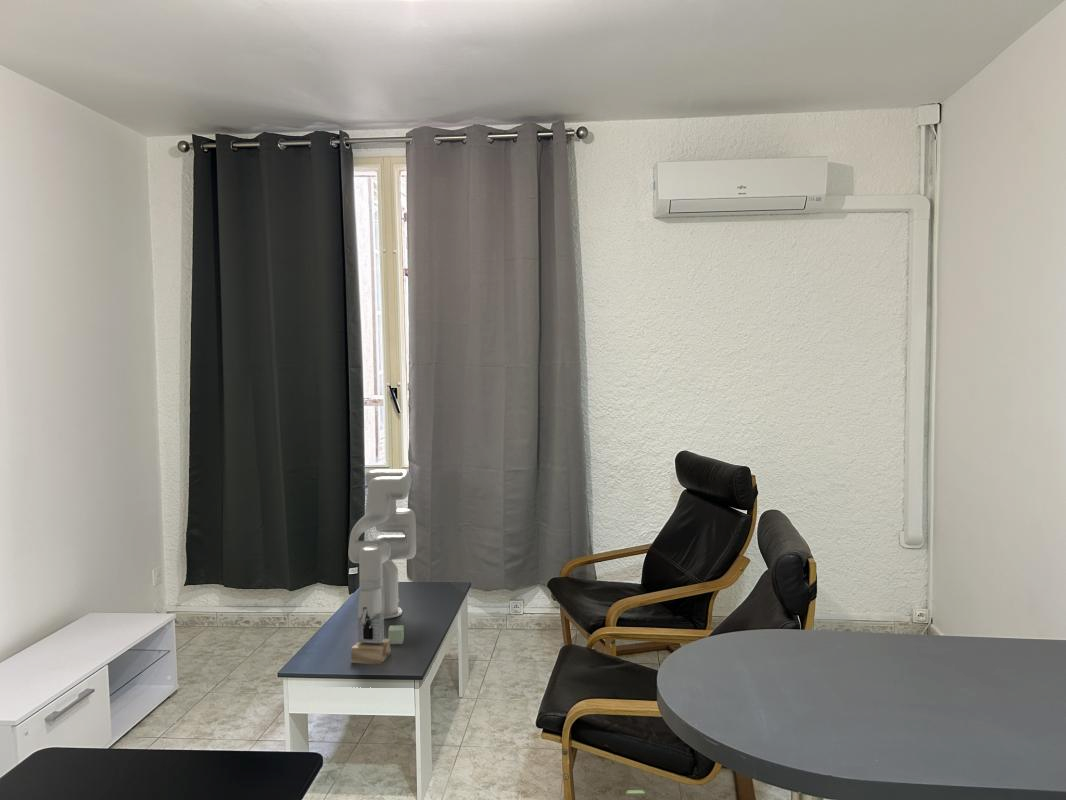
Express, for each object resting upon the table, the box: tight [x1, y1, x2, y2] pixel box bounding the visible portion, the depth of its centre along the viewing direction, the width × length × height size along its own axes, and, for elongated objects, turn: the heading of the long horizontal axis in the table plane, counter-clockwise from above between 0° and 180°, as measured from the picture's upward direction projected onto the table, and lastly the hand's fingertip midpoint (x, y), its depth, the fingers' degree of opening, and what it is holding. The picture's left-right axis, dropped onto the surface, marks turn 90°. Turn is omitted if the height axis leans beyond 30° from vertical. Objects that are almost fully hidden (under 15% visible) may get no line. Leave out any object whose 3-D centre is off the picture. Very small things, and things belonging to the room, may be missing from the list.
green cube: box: [387, 624, 405, 645], centre depth 269 cm, size 5×5×5 cm
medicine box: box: [357, 614, 385, 643], centre depth 253 cm, size 8×4×9 cm, turn 83°
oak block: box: [350, 638, 392, 666], centre depth 254 cm, size 10×10×5 cm
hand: (371, 635), depth 253 cm, fingers closed on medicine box, 4 cm apart
